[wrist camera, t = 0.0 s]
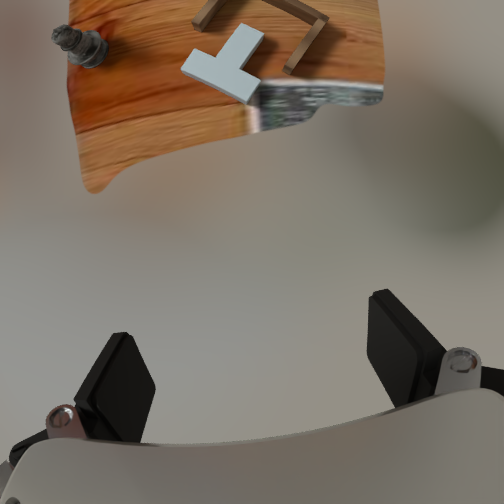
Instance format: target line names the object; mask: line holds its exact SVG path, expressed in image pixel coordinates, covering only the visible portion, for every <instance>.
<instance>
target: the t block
mask: <svg viewBox="0 0 504 504" xmlns="http://www.w3.org/2000/svg"><path fill="white" fill-rule="evenodd" d="M263 37H264V33H262V32H260V31H258V30H256V29H254V28H251V27H249V26H247V25H245V24H243V23H241V24H240V25H239V27H238V28H237V29H236V30H235V32H234V33H233V34H232V36H231V37H230V38H229V40H228V41H227V42H226V44H225V45H224V47H223V48H222V49H221V51H220V52H219V54H218V55H217V56H216V58H215V57H213V56H211V55H208V54H206V53H204V52H201V51H199V50H197V49H194V50H193V52H192V53H191V54H190V56H189V57H188V59H187V60H186V62H185V63H184V65H183V66H182V68H181V71H182V72H183V73H184V74H185V75H187V76H189V77H191V78H194V79H196V80H198V81H200V82H202V83H204V84H206V85H209V86H211V87H213V88H215V89H217V90H219V91H221V92H223V93H225V94H227V95H229V96H231V97H233V98H234V99H236V100H238V101H240V102H242V103H244V104H246V105H247V103H248V102H249V100H250V99H251V97H252V95H253V94H254V92H255V91H256V89H257V88H258V86H259V85H260V81H261V80H259V79H258V78H256V77H254V76H252V75H250V74H248V73H246V72H244V71H242V69H243V67H244V66H245V64H246V63H247V61H248V60H249V59H250V57H251V56H252V54H253V53H254V52H255V50H256V49H257V47H258V46H259V45H260V43H261V42H262V41H263Z"/></svg>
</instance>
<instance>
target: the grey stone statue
mask: <svg viewBox="0 0 504 504" xmlns="http://www.w3.org/2000/svg"><path fill="white" fill-rule="evenodd" d="M52 41H53V42H54V43H56V44H58V45H60V46H61V49H62V50H63V51H68V55H67V56H68V60H69V61H70V62H71V63H72V64H74V65H82V66H83V67H85V68H93V67H96V66H98V65H99V64H100V63H101V62H103V60H104V59H105V58H106V56H107V54H108V50H109V46H108V43H107V42H106V41H105V40H103V39H101V36H100V34H99V33H98V32H96V31H93V30H89V31H85V32H83V33H82V31H81V30H80V29H73V28H71V27H70V26H68V25H61V26H59V27H57V28H56V29H54V30H53V34H52Z"/></svg>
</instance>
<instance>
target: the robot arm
mask: <svg viewBox="0 0 504 504" xmlns="http://www.w3.org/2000/svg"><path fill="white" fill-rule="evenodd" d="M368 311H369V313H368V337H367V356H368V359H369V361H370V363H371V364H372V366H373V368H374V370H375V372H376V373H377V375H378V377H379V379H380V381H381V382H382V384H383V386H384V388H385V390H386V392H387V393H388V395H389V397H390V399H391V401H392V403H393V405H394V407H395V408H394V409H391V410H388V411H385V412H381V413H378V414H375V415H371V416H368V417H364V418H361V419H357V420H353V421H350V422H346V423H342V424H338V425H334V426H330V427H325V428H320V429H316V430H311V431H306V432H301V433H295V434H289V435H283V436H276V437H269V438H262V439H254V440H244V441H233V442H221V443H200V444H153V443H140V441H141V438H142V434H143V431H144V428H145V424H146V421H147V417H148V414H149V411H150V407H151V404H152V401H153V397H154V394H155V390H156V389H155V384H154V382H153V379H152V377H151V375H150V373H149V371H148V369H147V367H146V365H145V363H144V360H143V358H142V356H141V354H140V352H139V350H138V347H137V345H136V343H135V340H134V338H133V336H131V335H129V334H128V333H127V332H120V333H113V335H112V336H111V337H110V339H109V340H108V342H107V344H106V345H105V347H104V349H103V350H102V352H101V353H100V355H99V357H98V358H97V360H96V361H95V363H94V365H93V366H92V368H91V370H90V372H89V373H88V375H87V377H86V378H85V380H84V382H83V383H82V385H81V387H80V389H79V391H78V392H77V394H76V396H75V397H74V401H75V402H76V405H75V407H73V406H72V405H68V404H64V405H60V406H57V407H55V408H54V409H53V410H51V411H50V413H49V414H48V416H47V418H46V429H45V430H43V431H41V432H39V433H37V434H35V435H33V436H31V437H29V438H27V439H25V440H23V441H21V442H19V443H18V444H16V445H14V447H13V448H12V450H11V452H10V455H9V461H10V462H8V461H7V460H6V461H4V462H3V463H2V464H1V465H0V504H504V370H502V369H496V368H490V367H484V366H481V359H480V357H479V356H478V354H477V353H476V352H475V351H473V350H471V349H468V348H464V347H457V348H453V349H451V350H449V351H446V349H445V348H444V347H443V346H442V345H441V344H440V343H439V342H438V341H437V339H436V338H435V337H433V335H432V334H431V333H430V332H429V331H428V330H427V329H426V327H425V326H424V325H423V324H422V323H421V322H420V321H419V320H418V319H417V318H416V317H415V316H414V315H413V314H412V313H411V312H410V311H409V310H408V309H407V308H406V307H405V306H404V305H403V304H402V303H401V302H400V301H399V300H398V299H397V298H396V297H395V296H394V294H392V292H391V291H390V290H388V289H384V290H379V291H375V292H373V295H372V296H370V297H369V310H368Z"/></svg>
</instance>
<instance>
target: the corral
mask: <svg viewBox="0 0 504 504" xmlns="http://www.w3.org/2000/svg"><path fill="white" fill-rule="evenodd" d="M226 1H227V0H208V2H207V3H206V4H205V5H204V6H203V7H202V9H201V10H200V11H199V12H198V14H197V15H196V16H195V17H194V19H193V20H192V21H191V22H192V24H193V27H194V30H197V31H199V32H202V31H203V30H204V28H205V27H206V26H207V25H208V23H209V22H210V21H211V19H212V18H213V17H214V16H215V15H216V13H217V12H218V11H219V10H220V8H221V7H222V6H223V5H224V4H225V2H226ZM262 1H264V2H267V3H269V4H271V5H273V6H275V7H277V8H280V9H282V10H284V11H286V12H288V13H290V14H292V15H294V16H295V17H297V18H299V19H301V20H303V21H305V22H307V23H308V24H310V25H312V28H311V29H310V30H309V32H308V33H307V34H306V36H305V37H304V38H303V40H302V41H301V43H300V44H299V45H298V47H297V48H296V50H295V51H294V52H293V54H292V55H291V57H290V58H289V59H288V61H287V62H286V64H285V66H284V68H283V70H282V71H283V72H285V73H287V74H288V75H290V74H291V72H292V71H293V69H294V68H295V66H296V65H297V63H298V62H299V60H300V59H301V57H302V56H303V55H304V53H305V52H306V50H307V49H308V47H309V46H310V45H311V43H312V42H313V40H314V39H315V38H316V36H317V35H318V33H319V32H320V31H321V29H322V28H323V27H324V25H325V24H326V22H327V21H328V19H329V17H328V16H326V15H324V14H322V13H321V12H319V11H317V10H315V9H313V8H312V7H310V6H308V5H306V4H304V3H302V2H300V1H298V0H262Z"/></svg>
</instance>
